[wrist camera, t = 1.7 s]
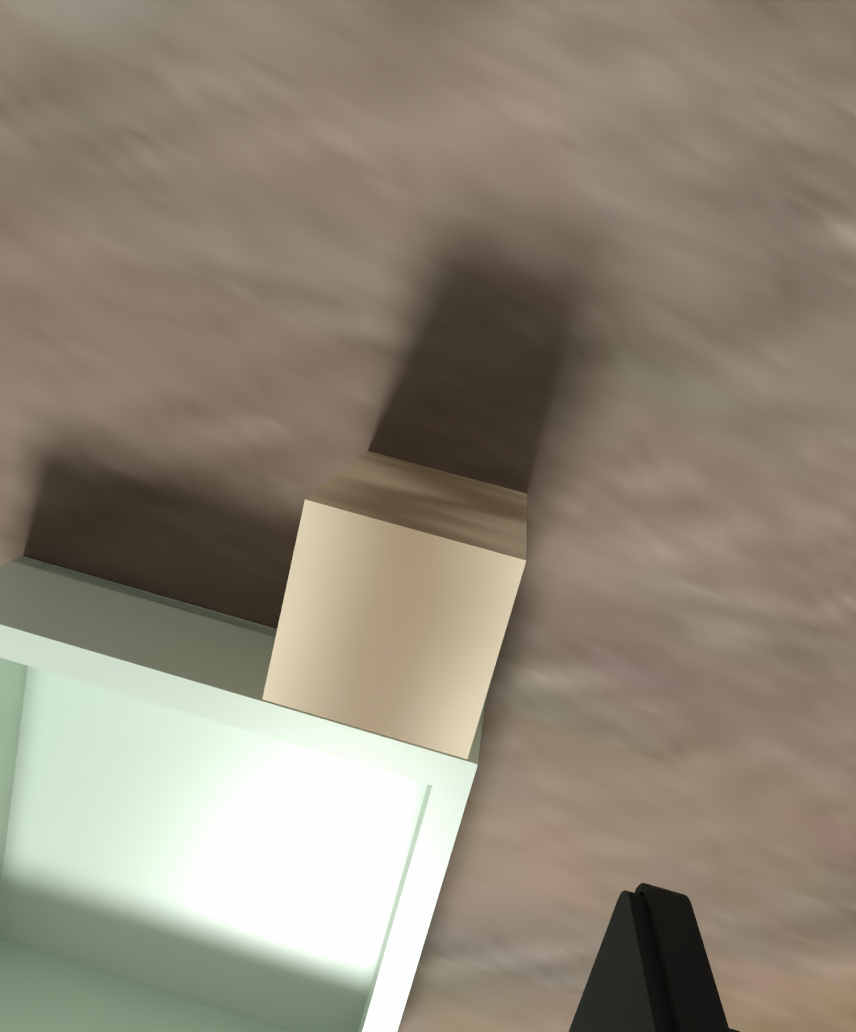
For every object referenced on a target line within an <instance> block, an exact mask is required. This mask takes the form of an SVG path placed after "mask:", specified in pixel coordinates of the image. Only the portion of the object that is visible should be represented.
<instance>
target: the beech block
mask: <svg viewBox="0 0 856 1032" xmlns="http://www.w3.org/2000/svg"><path fill="white" fill-rule="evenodd" d="M526 545H527V494H526V493H522V492H519V491H515V490H511V489H508V488H504V487H500V486H497V485H493V484H489V483H485V482H482V481H478V480H474V479H471V478H467V477H463V476H460V475H456V474H452V473H449V472H445V471H441V470H437V469H434V468H430V467H426V466H423V465H419V464H415V463H412V462H408V461H404V460H401V459H397V458H393V457H389V456H386V455H382V454H378V453H375V452H371V451H367V452H365V453H364V454H363V455H361V456H360V457H359V458H358V459H356V460H355V461H354V462H352V463H351V464H350V465H349V466H347V467H346V468H345V469H343V470H342V471H341V472H340V473H338V474H337V475H336V476H334V477H333V478H332V479H331V480H329V481H328V482H327V483H325V484H324V485H323V486H322V487H320V488H319V489H318V490H316V491H315V492H314V493H313V494H311V495H310V496H309V497H307V498H306V499H305V501H304V506H303V511H302V516H301V520H300V525H299V530H298V534H297V539H296V544H295V548H294V553H293V558H292V562H291V567H290V572H289V576H288V581H287V586H286V591H285V595H284V600H283V605H282V609H281V614H280V619H279V623H278V628H277V633H276V637H275V642H274V647H273V651H272V656H271V661H270V666H269V670H268V675H267V680H266V684H265V689H264V694H263V698H262V699H263V700H266V701H270V702H273V703H276V704H280V705H283V706H287V707H290V708H294V709H297V710H300V711H304V712H307V713H311V714H314V715H317V716H321V717H324V718H328V719H331V720H335V721H338V722H341V723H345V724H348V725H352V726H355V727H358V728H362V729H365V730H369V731H372V732H376V733H379V734H382V735H386V736H389V737H393V738H396V739H399V740H403V741H406V742H410V743H413V744H417V745H420V746H423V747H427V748H430V749H434V750H437V751H440V752H444V753H447V754H451V755H454V756H458V757H461V758H464V759H468V756H469V752H470V749H471V745H472V742H473V739H474V735H475V732H476V729H477V725H478V722H479V718H480V715H481V712H482V708H483V705H484V702H485V698H486V695H487V692H488V688H489V685H490V681H491V678H492V675H493V671H494V668H495V665H496V661H497V658H498V654H499V651H500V648H501V644H502V641H503V638H504V634H505V631H506V627H507V624H508V621H509V617H510V614H511V611H512V607H513V604H514V600H515V597H516V594H517V590H518V587H519V584H520V580H521V577H522V574H523V570H524V567H525V563H526Z"/></svg>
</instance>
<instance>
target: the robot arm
mask: <svg viewBox="0 0 856 1032" xmlns="http://www.w3.org/2000/svg"><path fill="white" fill-rule="evenodd" d="M569 1032H739V1031H737V1030H733V1029H730V1028H729V1027H728V1024H727V1020H726V1017H725V1014H724V1011H723V1007H722V1004H721V1001H720V997H719V994H718V991H717V987H716V984H715V981H714V977H713V974H712V971H711V968H710V964H709V961H708V958H707V954H706V951H705V948H704V944H703V941H702V938H701V935H700V931H699V928H698V925H697V921H696V918H695V915H694V911H693V908H692V905H691V902H690V900H689V898H688V897H687V896H686V895H683V894H680V893H676V892H673V891H670V890H666V889H663V888H659V887H656V886H652V885H649V884H645V883H642V884H640V885H639V886H638V887H637V888H636V891H635V893H633V892H629V891H626V890H625V891H623V892H622V893H621V894H620V896H619V898H618V901H617V903H616V906H615V909H614V911H613V914H612V917H611V919H610V922H609V925H608V928H607V930H606V933H605V936H604V938H603V941H602V944H601V946H600V949H599V952H598V954H597V957H596V960H595V963H594V965H593V968H592V971H591V973H590V976H589V979H588V981H587V984H586V987H585V989H584V992H583V995H582V997H581V1000H580V1003H579V1006H578V1008H577V1011H576V1014H575V1016H574V1019H573V1022H572V1024H571V1027H570V1030H569Z"/></svg>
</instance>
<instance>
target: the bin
mask: <svg viewBox="0 0 856 1032" xmlns="http://www.w3.org/2000/svg"><path fill="white" fill-rule="evenodd" d="M276 633H277V629H276V628H272V627H269V626H265V625H262V624H258V623H255V622H251V621H248V620H244V619H241V618H237V617H234V616H230V615H227V614H223V613H220V612H217V611H213V610H210V609H206V608H203V607H199V606H196V605H192V604H189V603H185V602H182V601H178V600H175V599H171V598H168V597H164V596H161V595H157V594H154V593H150V592H147V591H143V590H140V589H136V588H133V587H129V586H126V585H122V584H119V583H116V582H112V581H109V580H105V579H102V578H98V577H95V576H91V575H88V574H84V573H81V572H77V571H74V570H70V569H67V568H63V567H60V566H56V565H53V564H49V563H46V562H42V561H39V560H35V559H32V558H28V557H25V556H21V557H19V558H16V559H14V560H12V561H10V562H8V563H5V564H3V565H1V566H0V1032H397V1031H398V1028H399V1025H400V1021H401V1018H402V1015H403V1012H404V1008H405V1005H406V1002H407V998H408V995H409V992H410V988H411V985H412V982H413V978H414V975H415V972H416V968H417V965H418V962H419V958H420V955H421V952H422V948H423V945H424V942H425V938H426V935H427V932H428V929H429V925H430V922H431V919H432V915H433V912H434V909H435V905H436V902H437V899H438V895H439V892H440V889H441V885H442V882H443V879H444V875H445V872H446V869H447V865H448V862H449V859H450V855H451V852H452V849H453V846H454V842H455V839H456V836H457V832H458V829H459V826H460V822H461V819H462V816H463V812H464V809H465V806H466V802H467V799H468V796H469V792H470V789H471V786H472V782H473V779H474V776H475V773H476V769H477V766H478V759H479V751H480V742H481V734H482V725H483V717H484V708H485V702H484V705H483V708H482V712H481V715H480V718H479V722H478V725H477V729H476V732H475V735H474V739H473V742H472V745H471V749H470V752H469V756H468V759H464V758H461V757H458V756H454V755H451V754H447V753H444V752H440V751H437V750H434V749H430V748H427V747H423V746H420V745H417V744H413V743H410V742H406V741H403V740H399V739H396V738H393V737H389V736H386V735H382V734H379V733H376V732H372V731H369V730H365V729H362V728H358V727H355V726H352V725H348V724H345V723H341V722H338V721H335V720H331V719H328V718H324V717H321V716H317V715H314V714H311V713H307V712H304V711H300V710H297V709H294V708H290V707H287V706H283V705H280V704H276V703H273V702H270V701H266V700H263V699H262V698H263V694H264V689H265V684H266V680H267V675H268V670H269V666H270V661H271V656H272V651H273V647H274V642H275V637H276ZM485 700H486V698H485Z"/></svg>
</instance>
